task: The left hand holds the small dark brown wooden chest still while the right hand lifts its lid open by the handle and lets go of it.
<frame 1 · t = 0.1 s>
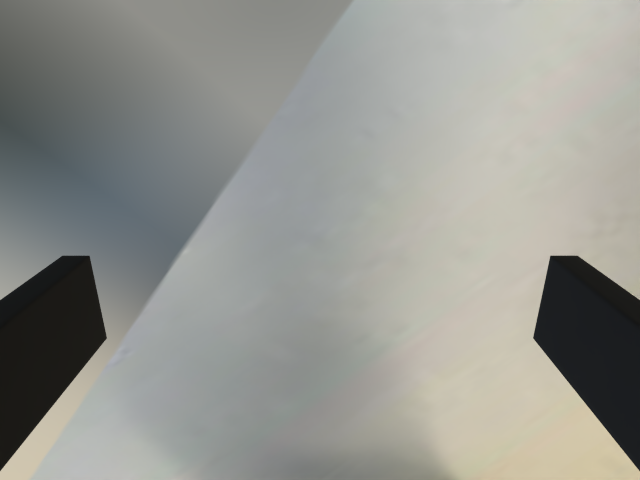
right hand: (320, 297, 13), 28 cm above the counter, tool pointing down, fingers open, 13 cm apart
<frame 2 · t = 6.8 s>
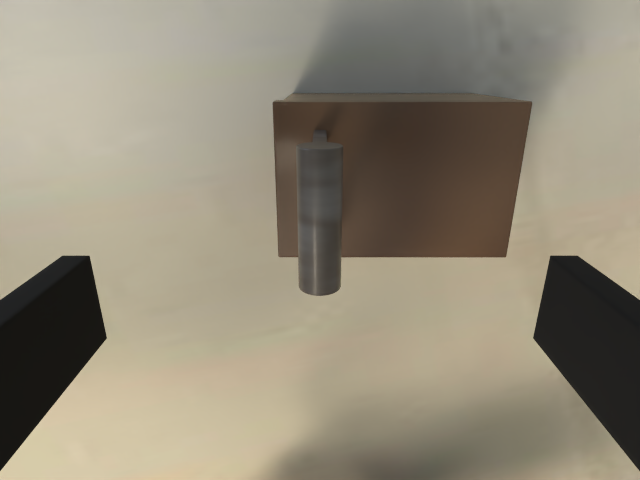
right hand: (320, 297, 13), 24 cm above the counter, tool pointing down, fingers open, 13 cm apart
lid: (406, 199, 22), point 13 cm above the counter, hinge at 0.0°
chest: (379, 154, 35), on the counter
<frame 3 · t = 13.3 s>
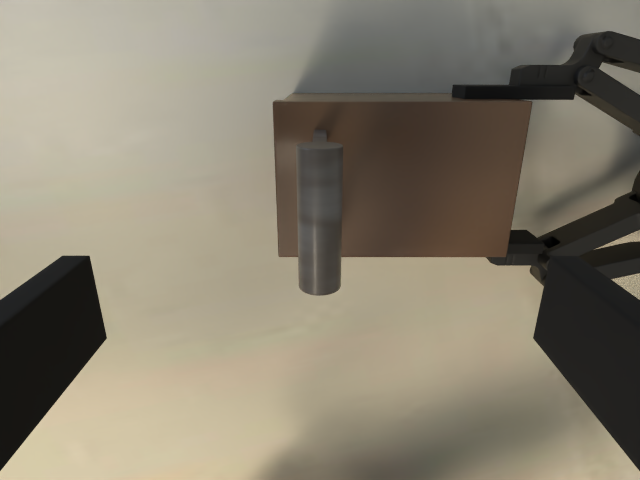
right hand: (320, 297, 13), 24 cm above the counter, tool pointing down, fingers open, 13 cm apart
left hand: (449, 171, 29), fingers closed on chest, 9 cm apart
lid: (407, 199, 22), point 13 cm above the counter, hinge at 0.0°
chest: (379, 154, 35), on the counter, touching left hand
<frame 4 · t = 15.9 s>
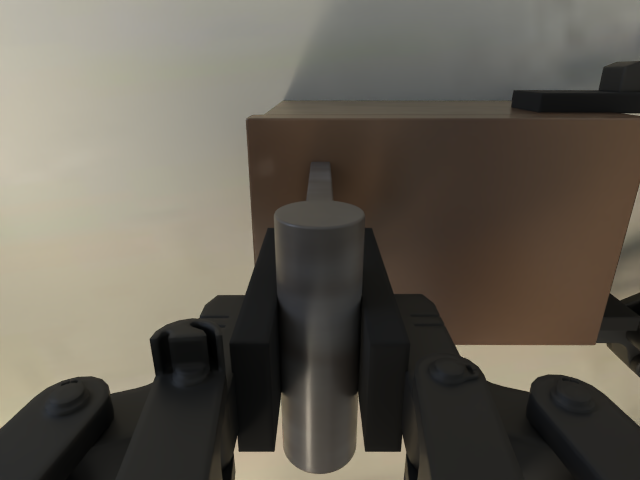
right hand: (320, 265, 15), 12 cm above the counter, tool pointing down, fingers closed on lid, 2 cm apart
lid: (462, 279, 14), point 13 cm above the counter, hinge at -0.1°, touching right hand
chest: (399, 181, 26), on the counter, touching left hand
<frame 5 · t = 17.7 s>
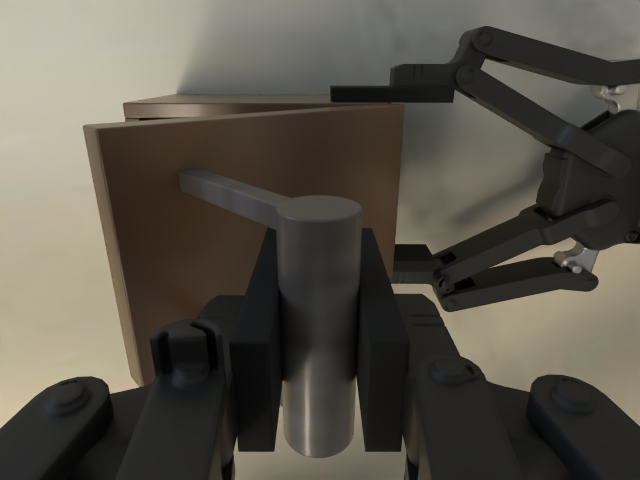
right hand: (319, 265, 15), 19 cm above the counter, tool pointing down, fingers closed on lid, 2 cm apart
left hand: (329, 181, 26), fingers closed on chest, 9 cm apart
lid: (346, 247, 16), point 17 cm above the counter, hinge at 41.7°, touching right hand
chest: (274, 160, 32), on the counter, touching left hand
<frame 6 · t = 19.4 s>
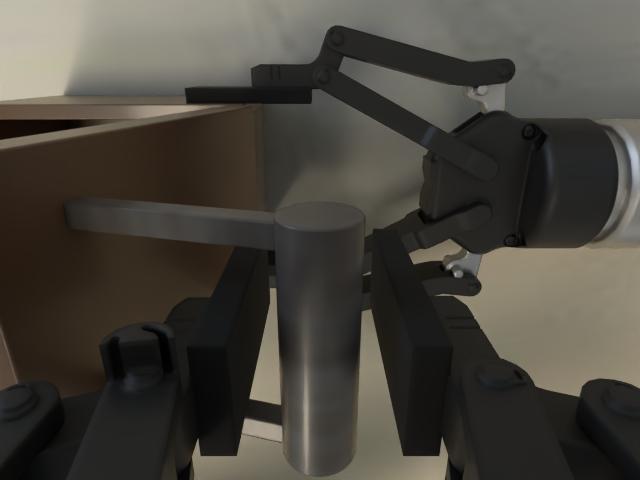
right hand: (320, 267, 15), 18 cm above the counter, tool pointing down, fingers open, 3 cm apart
left hand: (201, 184, 25), fingers closed on chest, 9 cm apart
lid: (261, 257, 15), point 17 cm above the counter, hinge at 74.0°
chest: (169, 162, 31), on the counter, touching left hand
when the left hand's fingers open (6 cm above the counter, at t = 23.0 s): chest stays where it is, on the counter.
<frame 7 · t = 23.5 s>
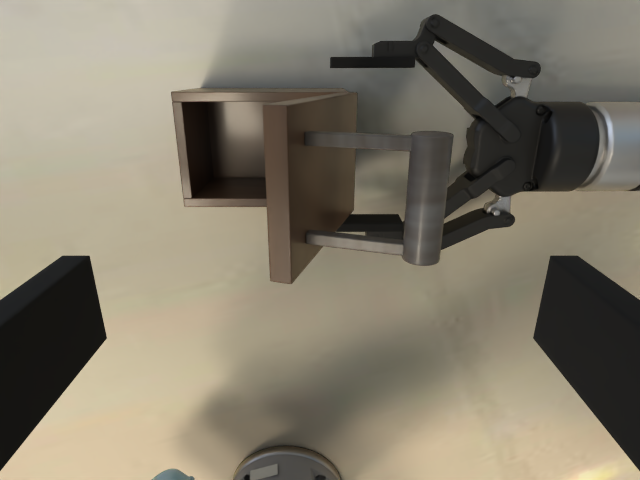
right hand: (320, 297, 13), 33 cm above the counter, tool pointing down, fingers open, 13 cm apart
left hand: (329, 148, 37), fingers open, 13 cm apart
lid: (377, 176, 27), point 17 cm above the counter, hinge at 72.2°
chest: (273, 137, 43), on the counter
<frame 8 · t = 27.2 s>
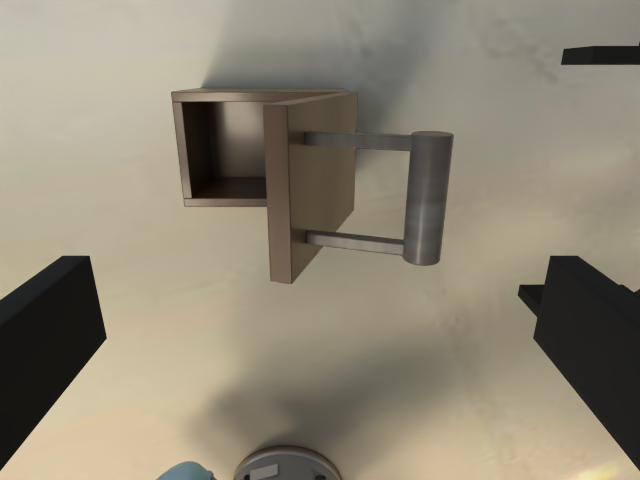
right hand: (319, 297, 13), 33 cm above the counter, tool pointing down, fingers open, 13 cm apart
lid: (377, 176, 27), point 17 cm above the counter, hinge at 72.2°
chest: (273, 137, 43), on the counter
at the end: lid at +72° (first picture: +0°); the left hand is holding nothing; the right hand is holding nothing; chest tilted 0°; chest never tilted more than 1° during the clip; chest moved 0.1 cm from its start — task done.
